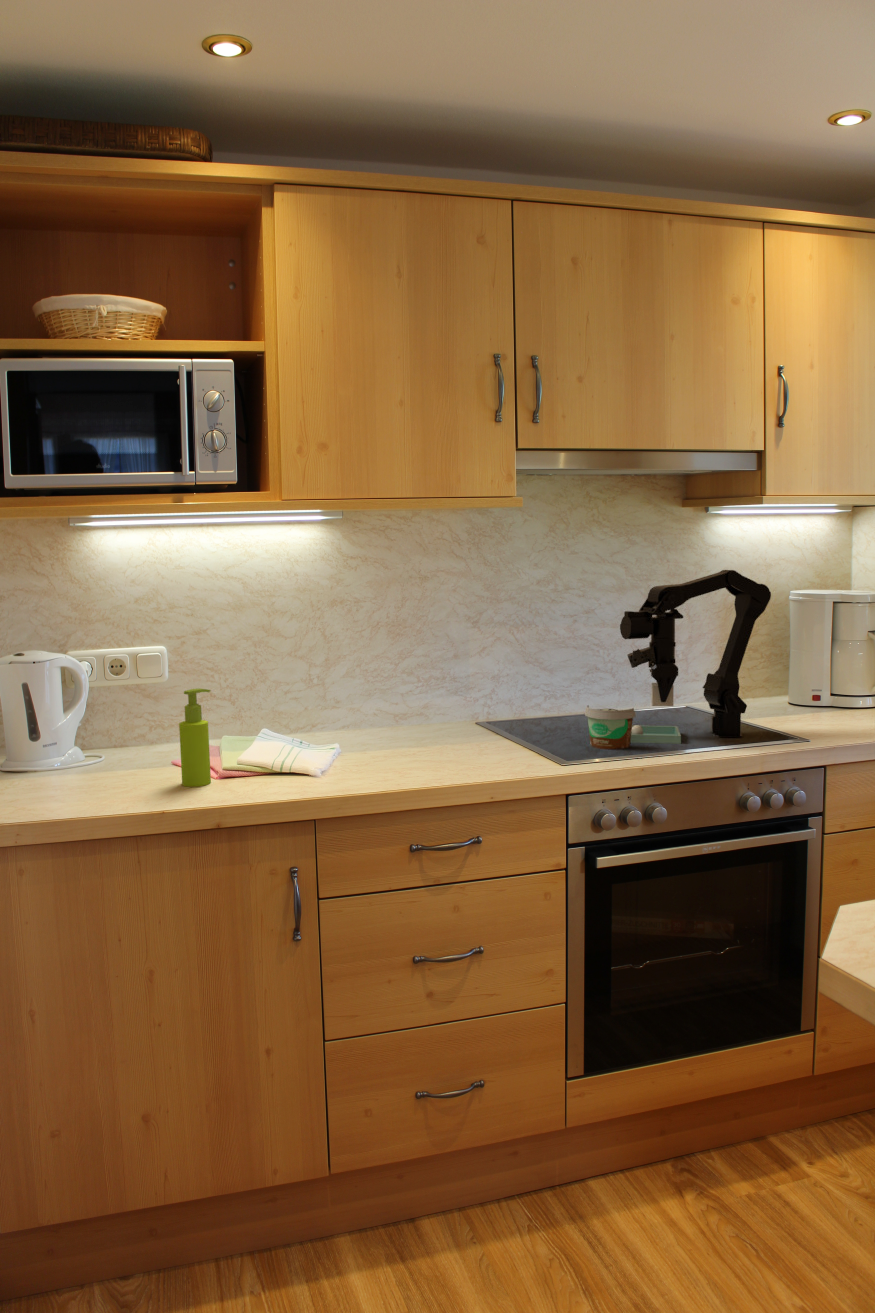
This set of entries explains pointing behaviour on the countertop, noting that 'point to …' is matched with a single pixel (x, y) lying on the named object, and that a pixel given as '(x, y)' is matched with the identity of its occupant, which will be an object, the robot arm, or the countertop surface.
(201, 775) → the soap dispenser
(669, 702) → the beige cube
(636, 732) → the pebble
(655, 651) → the robot arm
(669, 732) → the tray
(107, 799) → the countertop surface
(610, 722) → the food container
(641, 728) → the pebble
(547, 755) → the countertop surface
